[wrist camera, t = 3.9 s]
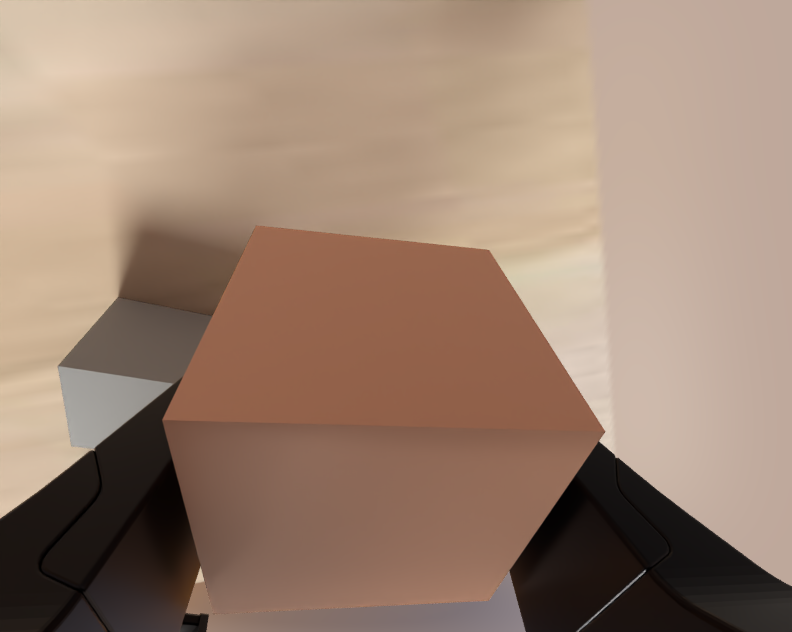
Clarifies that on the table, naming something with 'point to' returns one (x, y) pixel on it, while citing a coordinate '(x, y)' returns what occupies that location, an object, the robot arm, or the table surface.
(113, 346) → the slate grey cube
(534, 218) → the table surface
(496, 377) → the terracotta cube
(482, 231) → the table surface
